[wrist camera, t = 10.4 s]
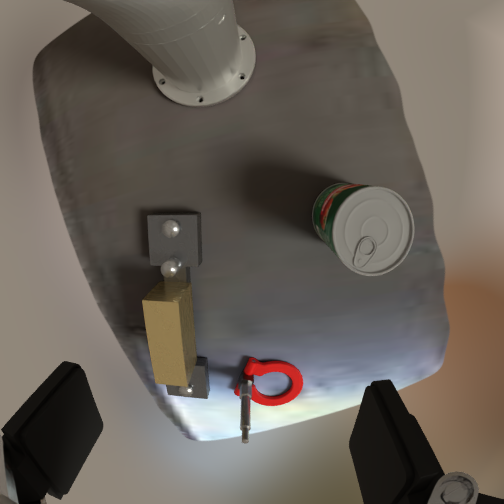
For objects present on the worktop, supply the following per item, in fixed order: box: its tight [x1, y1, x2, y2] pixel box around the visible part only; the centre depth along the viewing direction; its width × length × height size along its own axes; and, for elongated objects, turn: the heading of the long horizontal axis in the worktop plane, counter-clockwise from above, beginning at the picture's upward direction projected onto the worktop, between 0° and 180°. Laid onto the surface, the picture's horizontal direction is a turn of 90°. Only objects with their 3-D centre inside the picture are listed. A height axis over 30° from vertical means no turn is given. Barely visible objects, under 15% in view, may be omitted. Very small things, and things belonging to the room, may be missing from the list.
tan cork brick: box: [142, 281, 197, 387], centre depth 34 cm, size 11×4×6 cm, turn 179°
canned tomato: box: [312, 183, 414, 276], centre depth 30 cm, size 8×8×11 cm
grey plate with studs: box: [147, 213, 210, 399], centre depth 36 cm, size 26×6×4 cm, turn 179°
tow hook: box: [234, 357, 303, 443], centre depth 35 cm, size 8×13×9 cm
